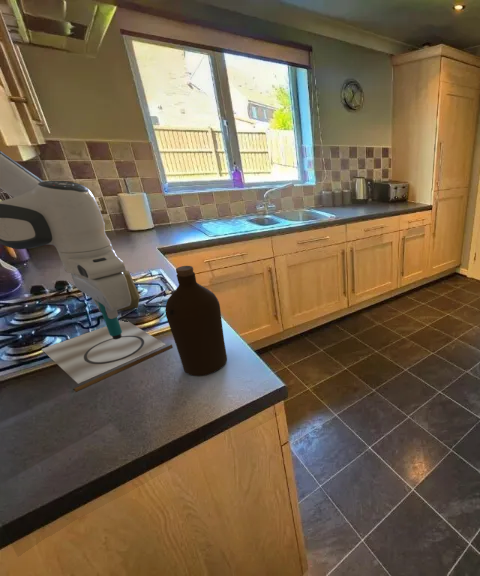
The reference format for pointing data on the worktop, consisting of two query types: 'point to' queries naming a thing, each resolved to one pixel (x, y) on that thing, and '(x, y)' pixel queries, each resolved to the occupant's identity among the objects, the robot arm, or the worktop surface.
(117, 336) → the marker
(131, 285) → the squeeze bottle
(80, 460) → the worktop surface
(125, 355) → the drawing board
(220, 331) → the olive oil
